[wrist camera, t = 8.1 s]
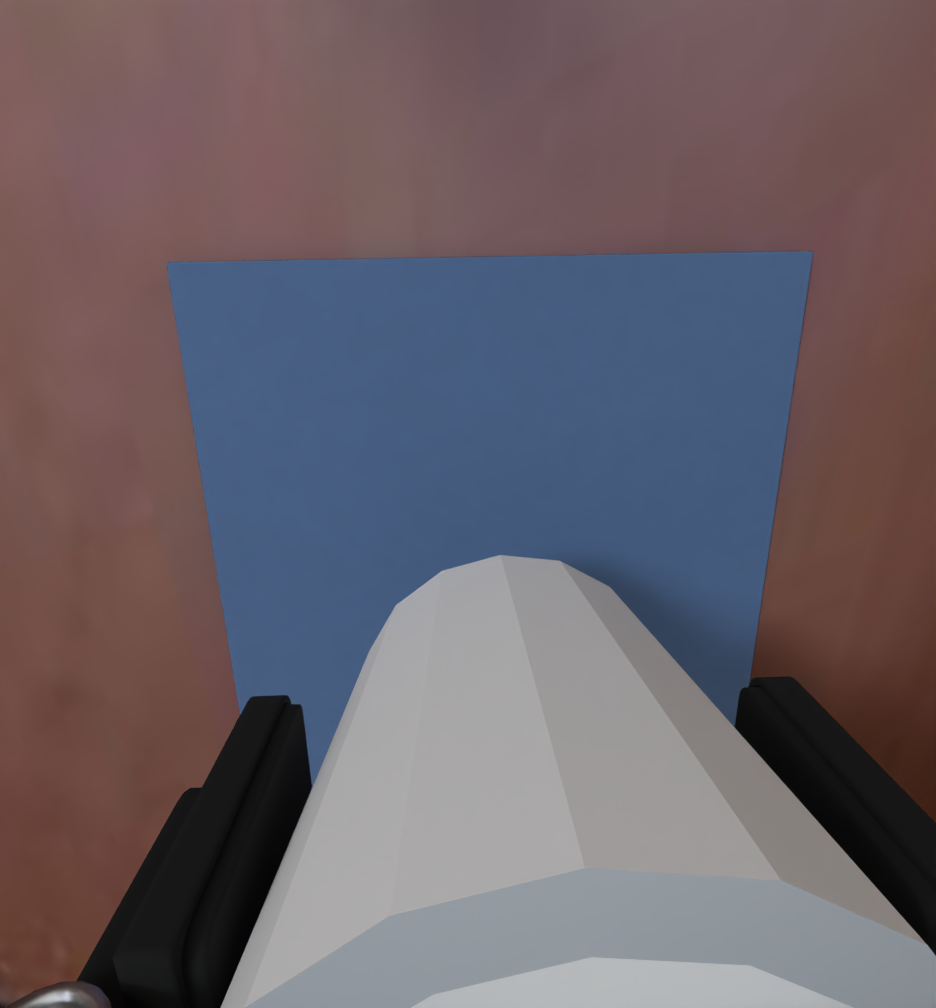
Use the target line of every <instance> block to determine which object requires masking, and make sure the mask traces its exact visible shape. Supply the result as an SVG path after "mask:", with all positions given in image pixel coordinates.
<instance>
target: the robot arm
mask: <svg viewBox="0 0 936 1008" xmlns="http://www.w3.org/2000/svg"><path fill="white" fill-rule="evenodd" d="M735 729H736V730H737V731H738V732H739V733H740V734H741V735H742V737H743V738H744V739H745V740H746V741H747V742H748V743H749V744H750V746H751V747H752V748H753V749H754V750H755V751H756V752H757V753H758V755H759V756H760V757H761V758H762V759H763V760H764V761H765V762H766V764H767V765H768V766H769V767H770V768H771V769H772V770H773V771H774V773H775V774H776V775H777V776H778V777H779V778H780V779H781V781H782V782H783V783H784V784H785V785H786V786H787V787H788V788H789V790H790V791H791V792H792V793H793V794H794V795H795V796H796V797H797V799H798V800H799V801H800V802H801V803H802V804H803V805H804V806H805V808H806V809H807V810H808V811H809V812H810V813H811V814H812V815H813V817H814V818H815V819H816V820H817V821H818V822H819V823H820V824H821V826H822V827H823V828H824V829H825V830H826V831H827V832H828V834H829V835H830V836H831V837H832V838H833V839H834V840H835V841H836V843H837V844H838V845H839V846H840V847H841V848H842V849H843V850H844V852H845V853H846V854H847V855H848V856H849V857H850V858H851V859H852V861H853V862H854V863H855V864H856V865H857V866H858V867H859V868H860V870H861V871H862V872H863V873H864V874H865V875H866V876H867V878H868V879H869V880H870V881H871V882H872V883H873V884H874V885H875V887H876V888H877V889H878V890H879V891H880V892H881V893H882V894H883V896H884V897H885V898H886V899H887V900H888V901H889V902H890V903H891V905H892V906H893V907H894V908H895V909H896V910H897V911H898V912H899V914H900V915H901V916H902V917H903V918H904V919H905V920H906V921H907V923H908V924H909V925H910V926H911V927H912V928H913V929H914V931H915V932H916V933H917V934H918V935H919V936H920V937H921V938H922V940H923V941H924V942H925V943H926V944H927V945H928V946H929V948H930V949H931V950H932V952H933V953H934V954H935V956H936V823H935V822H934V821H933V820H932V819H931V818H930V817H929V816H928V815H927V814H926V813H925V812H924V811H923V810H922V809H921V808H920V807H919V806H918V805H917V803H916V802H915V801H914V800H913V799H912V798H911V797H910V796H909V795H908V794H907V793H906V792H905V791H904V790H903V789H902V788H901V787H900V786H899V785H898V784H897V783H896V782H895V781H894V780H893V779H892V778H891V777H890V776H889V775H888V774H887V773H886V772H885V771H884V770H883V769H882V768H881V767H880V766H879V765H878V764H877V762H876V761H875V760H874V759H873V758H872V757H871V756H870V755H869V754H868V753H867V752H866V751H865V750H864V749H863V748H862V747H861V746H860V745H859V744H858V743H857V742H856V741H855V740H854V739H853V738H852V737H851V736H850V735H849V734H848V733H847V732H846V731H845V730H844V729H843V728H842V727H841V726H840V725H839V724H838V723H837V721H836V720H835V719H834V718H833V717H832V716H831V715H830V714H829V713H828V712H827V711H826V710H825V709H824V708H823V707H822V706H821V705H820V704H819V703H818V702H817V701H816V700H815V699H814V698H813V697H812V696H811V695H810V694H809V693H808V692H807V691H806V690H805V689H804V688H803V687H802V686H801V685H800V684H799V683H798V681H796V680H795V679H794V678H792V677H762V678H754V679H752V680H751V682H750V683H749V687H744V688H742V689H741V691H740V694H739V699H738V706H737V714H736V721H735ZM311 790H312V782H311V773H310V765H309V757H308V749H307V741H306V732H305V724H304V716H303V709H302V706H301V705H300V704H291V700H290V698H289V696H287V695H274V696H253V697H250V699H249V700H248V701H247V703H246V705H245V707H244V709H243V711H242V713H241V715H240V717H239V718H238V720H237V722H236V724H235V726H234V728H233V730H232V732H231V734H230V735H229V737H228V739H227V741H226V743H225V745H224V747H223V749H222V751H221V753H220V754H219V756H218V758H217V760H216V762H215V764H214V766H213V768H212V770H211V771H210V773H209V775H208V777H207V779H206V781H205V783H204V785H203V787H202V788H190V789H188V790H187V791H185V792H184V793H183V795H182V796H181V797H180V799H179V800H178V802H177V804H176V805H175V807H174V809H173V811H172V812H171V814H170V816H169V818H168V819H167V821H166V823H165V825H164V827H163V828H162V830H161V832H160V834H159V835H158V837H157V839H156V841H155V843H154V844H153V846H152V848H151V850H150V851H149V853H148V855H147V857H146V859H145V860H144V862H143V864H142V866H141V867H140V869H139V871H138V873H137V875H136V876H135V878H134V880H133V882H132V883H131V885H130V887H129V889H128V890H127V892H126V894H125V896H124V898H123V899H122V901H121V903H120V905H119V906H118V908H117V910H116V912H115V914H114V915H113V917H112V919H111V921H110V922H109V924H108V926H107V928H106V930H105V931H104V933H103V935H102V937H101V938H100V940H99V942H98V944H97V946H96V947H95V949H94V951H93V953H92V954H91V956H90V958H89V960H88V962H87V963H86V965H85V967H84V969H83V970H82V972H81V974H80V976H79V977H78V979H77V981H72V982H59V983H56V984H53V985H50V986H47V987H44V988H41V989H38V990H35V991H33V992H31V993H30V994H28V995H26V996H24V997H22V998H21V999H19V1000H17V1001H15V1002H13V1003H12V1004H10V1005H8V1006H7V1007H6V1008H221V1005H222V1003H223V1001H224V998H225V996H226V993H227V991H228V989H229V986H230V984H231V982H232V979H233V977H234V974H235V972H236V970H237V967H238V965H239V962H240V960H241V958H242V955H243V953H244V950H245V948H246V946H247V943H248V941H249V938H250V936H251V934H252V931H253V929H254V926H255V924H256V922H257V919H258V917H259V914H260V912H261V910H262V907H263V905H264V902H265V900H266V898H267V895H268V893H269V890H270V888H271V886H272V883H273V881H274V878H275V876H276V874H277V871H278V869H279V866H280V864H281V862H282V859H283V857H284V854H285V852H286V850H287V847H288V845H289V842H290V840H291V838H292V835H293V833H294V830H295V828H296V826H297V823H298V821H299V818H300V816H301V814H302V811H303V809H304V806H305V804H306V802H307V799H308V797H309V794H310V792H311Z"/></svg>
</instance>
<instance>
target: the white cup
mask: <svg viewBox="0 0 936 1008" xmlns="http://www.w3.org/2000/svg"><path fill="white" fill-rule="evenodd" d="M221 1008H936V956H935V954H934V953H933V952H932V950H931V949H930V948H929V946H928V945H927V944H926V943H925V942H924V941H923V940H922V938H921V937H920V936H919V935H918V934H917V933H916V932H915V931H914V929H913V928H912V927H911V926H910V925H909V924H908V923H907V921H906V920H905V919H904V918H903V917H902V916H901V915H900V914H899V912H898V911H897V910H896V909H895V908H894V907H893V906H892V905H891V903H890V902H889V901H888V900H887V899H886V898H885V897H884V896H883V894H882V893H881V892H880V891H879V890H878V889H877V888H876V887H875V885H874V884H873V883H872V882H871V881H870V880H869V879H868V878H867V876H866V875H865V874H864V873H863V872H862V871H861V870H860V868H859V867H858V866H857V865H856V864H855V863H854V862H853V861H852V859H851V858H850V857H849V856H848V855H847V854H846V853H845V852H844V850H843V849H842V848H841V847H840V846H839V845H838V844H837V843H836V841H835V840H834V839H833V838H832V837H831V836H830V835H829V834H828V832H827V831H826V830H825V829H824V828H823V827H822V826H821V824H820V823H819V822H818V821H817V820H816V819H815V818H814V817H813V815H812V814H811V813H810V812H809V811H808V810H807V809H806V808H805V806H804V805H803V804H802V803H801V802H800V801H799V800H798V799H797V797H796V796H795V795H794V794H793V793H792V792H791V791H790V790H789V788H788V787H787V786H786V785H785V784H784V783H783V782H782V781H781V779H780V778H779V777H778V776H777V775H776V774H775V773H774V771H773V770H772V769H771V768H770V767H769V766H768V765H767V764H766V762H765V761H764V760H763V759H762V758H761V757H760V756H759V755H758V753H757V752H756V751H755V750H754V749H753V748H752V747H751V746H750V744H749V743H748V742H747V741H746V740H745V739H744V738H743V737H742V735H741V734H740V733H739V732H738V731H737V730H736V729H735V727H734V726H733V725H732V724H731V723H730V722H729V721H728V720H727V718H726V717H725V716H724V715H723V714H722V713H721V712H720V711H719V709H718V708H717V707H716V706H715V705H714V704H713V703H712V702H711V700H710V699H709V698H708V697H707V696H706V695H705V694H704V693H703V691H702V690H701V689H700V688H699V687H698V686H697V685H696V683H695V682H694V681H693V680H692V679H691V678H690V677H689V676H688V674H687V673H686V672H685V671H684V670H683V669H682V668H681V667H680V665H679V664H678V663H677V662H676V661H675V660H674V659H673V658H672V656H671V655H670V654H669V653H668V652H667V651H666V650H665V649H664V647H663V646H662V645H661V644H660V643H659V642H658V641H657V640H656V638H655V637H654V636H653V635H652V634H651V633H650V632H649V630H648V629H647V628H646V627H645V626H644V625H643V624H642V623H641V621H640V620H639V619H638V618H637V617H636V616H635V615H634V614H633V612H632V611H631V610H630V609H629V608H628V607H627V606H626V605H625V603H624V602H623V601H622V600H621V599H620V598H619V597H618V596H617V594H616V593H615V592H614V591H613V590H612V589H611V588H610V587H609V586H607V585H605V584H603V583H601V582H600V581H598V580H596V579H594V578H592V577H590V576H588V575H586V574H584V573H582V572H580V571H578V570H577V569H575V568H573V567H571V566H569V565H567V564H565V563H563V562H561V561H557V560H547V559H537V558H527V557H516V556H506V555H498V556H494V557H491V558H487V559H484V560H480V561H476V562H473V563H469V564H465V565H462V566H458V567H454V568H451V569H447V570H443V571H441V572H440V573H438V574H437V575H436V576H434V577H433V578H432V579H430V580H429V581H428V582H426V583H425V584H424V585H422V586H421V587H420V588H418V589H417V590H416V591H414V592H413V593H412V594H410V595H409V596H408V597H406V598H405V599H404V600H402V601H401V602H399V603H398V604H397V605H396V606H395V607H394V609H393V611H392V613H391V614H390V616H389V618H388V620H387V621H386V623H385V625H384V626H383V628H382V630H381V632H380V633H379V635H378V637H377V639H376V640H375V642H374V644H373V646H372V647H371V649H370V651H369V653H368V655H367V658H366V660H365V662H364V665H363V667H362V670H361V672H360V674H359V677H358V679H357V682H356V684H355V686H354V689H353V691H352V694H351V696H350V698H349V701H348V703H347V706H346V708H345V710H344V713H343V715H342V718H341V720H340V722H339V725H338V727H337V730H336V732H335V734H334V737H333V739H332V742H331V744H330V746H329V749H328V751H327V754H326V756H325V758H324V761H323V763H322V766H321V768H320V770H319V773H318V775H317V778H316V780H315V782H314V785H313V787H312V790H311V792H310V794H309V797H308V799H307V802H306V804H305V806H304V809H303V811H302V814H301V816H300V818H299V821H298V823H297V826H296V828H295V830H294V833H293V835H292V838H291V840H290V842H289V845H288V847H287V850H286V852H285V854H284V857H283V859H282V862H281V864H280V866H279V869H278V871H277V874H276V876H275V878H274V881H273V883H272V886H271V888H270V890H269V893H268V895H267V898H266V900H265V902H264V905H263V907H262V910H261V912H260V914H259V917H258V919H257V922H256V924H255V926H254V929H253V931H252V934H251V936H250V938H249V941H248V943H247V946H246V948H245V950H244V953H243V955H242V958H241V960H240V962H239V965H238V967H237V970H236V972H235V974H234V977H233V979H232V982H231V984H230V986H229V989H228V991H227V993H226V996H225V998H224V1001H223V1003H222V1005H221Z"/></svg>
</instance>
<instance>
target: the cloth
mask: <svg viewBox="0 0 936 1008" xmlns="http://www.w3.org/2000/svg"><path fill="white" fill-rule="evenodd" d="M812 258H813V252H812V251H779V252H722V253H665V254H607V255H550V256H493V257H436V258H379V259H321V260H264V261H207V262H168V263H167V270H168V277H169V283H170V289H171V295H172V301H173V307H174V313H175V319H176V326H177V332H178V338H179V344H180V350H181V356H182V362H183V368H184V374H185V381H186V387H187V393H188V399H189V405H190V411H191V417H192V423H193V429H194V436H195V442H196V448H197V454H198V460H199V466H200V472H201V478H202V484H203V491H204V497H205V503H206V509H207V515H208V521H209V527H210V533H211V539H212V546H213V552H214V558H215V564H216V570H217V576H218V582H219V588H220V595H221V601H222V607H223V613H224V619H225V625H226V631H227V637H228V643H229V650H230V656H231V662H232V668H233V674H234V680H235V686H236V692H237V698H238V705H239V711H240V715H241V713H242V711H243V709H244V707H245V705H246V703H247V701H248V700H249V699H250V697H253V696H274V695H287V696H289V698H290V700H291V704H300V705H301V706H302V709H303V716H304V724H305V732H306V741H307V749H308V757H309V765H310V773H311V782H312V787H313V785H314V782H315V780H316V778H317V775H318V773H319V770H320V768H321V766H322V763H323V761H324V758H325V756H326V754H327V751H328V749H329V746H330V744H331V742H332V739H333V737H334V734H335V732H336V730H337V727H338V725H339V722H340V720H341V718H342V715H343V713H344V710H345V708H346V706H347V703H348V701H349V698H350V696H351V694H352V691H353V689H354V686H355V684H356V682H357V679H358V677H359V674H360V672H361V670H362V667H363V665H364V662H365V660H366V658H367V655H368V653H369V651H370V649H371V647H372V646H373V644H374V642H375V640H376V639H377V637H378V635H379V633H380V632H381V630H382V628H383V626H384V625H385V623H386V621H387V620H388V618H389V616H390V614H391V613H392V611H393V609H394V607H395V606H396V605H397V604H398V603H399V602H401V601H402V600H404V599H405V598H406V597H408V596H409V595H410V594H412V593H413V592H414V591H416V590H417V589H418V588H420V587H421V586H422V585H424V584H425V583H426V582H428V581H429V580H430V579H432V578H433V577H434V576H436V575H437V574H438V573H440V572H441V571H443V570H447V569H451V568H454V567H458V566H462V565H465V564H469V563H473V562H476V561H480V560H484V559H487V558H491V557H494V556H498V555H506V556H516V557H527V558H537V559H547V560H557V561H561V562H563V563H565V564H567V565H569V566H571V567H573V568H575V569H577V570H578V571H580V572H582V573H584V574H586V575H588V576H590V577H592V578H594V579H596V580H598V581H600V582H601V583H603V584H605V585H607V586H609V587H610V588H611V589H612V590H613V591H614V592H615V593H616V594H617V596H618V597H619V598H620V599H621V600H622V601H623V602H624V603H625V605H626V606H627V607H628V608H629V609H630V610H631V611H632V612H633V614H634V615H635V616H636V617H637V618H638V619H639V620H640V621H641V623H642V624H643V625H644V626H645V627H646V628H647V629H648V630H649V632H650V633H651V634H652V635H653V636H654V637H655V638H656V640H657V641H658V642H659V643H660V644H661V645H662V646H663V647H664V649H665V650H666V651H667V652H668V653H669V654H670V655H671V656H672V658H673V659H674V660H675V661H676V662H677V663H678V664H679V665H680V667H681V668H682V669H683V670H684V671H685V672H686V673H687V674H688V676H689V677H690V678H691V679H692V680H693V681H694V682H695V683H696V685H697V686H698V687H699V688H700V689H701V690H702V691H703V693H704V694H705V695H706V696H707V697H708V698H709V699H710V700H711V702H712V703H713V704H714V705H715V706H716V707H717V708H718V709H719V711H720V712H721V713H722V714H723V715H724V716H725V717H726V718H727V720H728V721H729V722H730V723H731V724H732V725H733V726H734V727H735V721H736V714H737V706H738V699H739V694H740V691H741V689H742V688H744V687H749V682H750V676H751V669H752V662H753V655H754V649H755V642H756V635H757V628H758V622H759V615H760V608H761V601H762V595H763V588H764V581H765V575H766V568H767V561H768V554H769V548H770V541H771V534H772V527H773V521H774V514H775V507H776V500H777V494H778V487H779V480H780V473H781V467H782V460H783V453H784V447H785V440H786V433H787V426H788V420H789V413H790V406H791V399H792V393H793V386H794V379H795V372H796V366H797V359H798V352H799V346H800V339H801V332H802V325H803V319H804V312H805V305H806V298H807V292H808V285H809V278H810V271H811V265H812Z"/></svg>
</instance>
